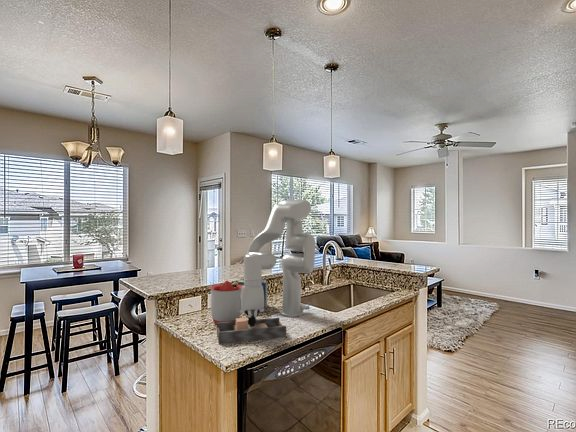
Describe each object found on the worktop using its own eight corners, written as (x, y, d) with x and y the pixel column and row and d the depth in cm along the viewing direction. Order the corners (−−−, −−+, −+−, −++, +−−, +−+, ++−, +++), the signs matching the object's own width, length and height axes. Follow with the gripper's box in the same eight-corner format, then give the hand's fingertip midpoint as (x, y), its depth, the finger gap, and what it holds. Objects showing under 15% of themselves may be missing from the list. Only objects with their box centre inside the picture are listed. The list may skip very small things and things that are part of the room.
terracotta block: (245, 326, 135) (246, 317, 135) (247, 330, 130) (247, 320, 131) (235, 327, 133) (235, 318, 133) (236, 331, 129) (237, 321, 129)
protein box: (240, 304, 178) (241, 277, 178) (267, 305, 178) (267, 278, 178) (237, 310, 168) (237, 281, 168) (265, 311, 167) (265, 282, 167)
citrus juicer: (249, 317, 156) (249, 277, 156) (234, 329, 140) (234, 285, 140) (221, 314, 161) (221, 275, 161) (203, 325, 144) (204, 282, 144)
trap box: (278, 327, 143) (278, 317, 143) (286, 337, 132) (286, 326, 132) (216, 333, 135) (216, 322, 135) (218, 343, 123) (219, 332, 123)
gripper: (267, 280, 139) (266, 321, 139) (233, 281, 135) (233, 324, 135) (271, 283, 132) (270, 327, 132) (236, 285, 128) (235, 330, 127)
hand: (251, 325), depth 133 cm, fingers closed
